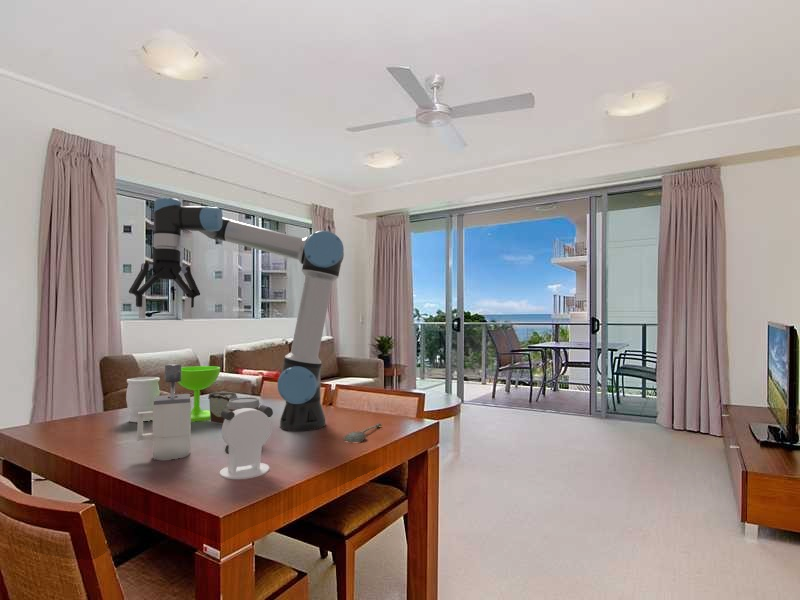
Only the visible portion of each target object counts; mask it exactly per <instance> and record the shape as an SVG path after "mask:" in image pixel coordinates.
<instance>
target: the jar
mask: <svg viewBox="0 0 800 600" xmlns="http://www.w3.org/2000/svg"><path fill="white" fill-rule="evenodd" d="M160 380H161V378H160V377H159V376H139V377H131V378H127V379H126V383H127V388H126V393H125V395H126V396H125V399H126V405H127V406H126V408H127V411H128V414H129V416H130V417H129V419H128V421H129V422H131V423H138V412H147V411H153V402H154V399H155V396H161V395H160V394H161V393H160V392H161V391H160V386H159V381H160ZM150 420H152V421H153V417H147V418H143V421H148V422H151V421H150Z"/></svg>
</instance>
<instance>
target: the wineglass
mask: <svg viewBox="0 0 800 600" xmlns="http://www.w3.org/2000/svg"><path fill="white" fill-rule="evenodd" d="M220 371H221V367H220V366H210V365H207V366H206V365H199V366H181V381H179V382H177V383H178V384H179V385H180V386H181V387H183V388H184V389H187V390H190V391H193V408H192V409H191V423H196V422H195V421H199V422H206V420H207V421H210V409H209V410H208V409H207V410H202V408H201V407H200V403H201V402H200V397H201V396H200V393H201V392H200V391H201V390H204V389H207V388H209V387H210V386H212V385H213V384H214V383H215V382H216V380H217V379H218V377H219V375H220Z"/></svg>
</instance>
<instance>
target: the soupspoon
mask: <svg viewBox="0 0 800 600" xmlns="http://www.w3.org/2000/svg"><path fill="white" fill-rule="evenodd" d="M382 425H383V424H382V423H377V424H375V425H373V426H370V427H368V428H365V429H363V430H362V431H351V432H348V433H347V434H346V435H345V436H344V437H343V439H342V440H344V441H348V442H360V443H362V442H363V441H364V440H365V438H366V436H367V435H366V432H367V431H370V430H372V429H374V428H375V427H376V428H378V427H379V426H382ZM379 428H380V427H379ZM344 441H343V442H344ZM361 441H362V442H361Z"/></svg>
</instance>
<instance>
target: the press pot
mask: <svg viewBox="0 0 800 600" xmlns="http://www.w3.org/2000/svg"><path fill="white" fill-rule="evenodd" d="M191 411H192V398H191V394H190V393H181V394H180V393H179V394H175V398H171V394H165V395H164V394H162V395H160V396H155V399H154V402H153V411H147V412H138V422H137V425H136V426H137V429H136V430H137V436H136V438H137V439H136V440H137V441H138V442H139V441H148V440H152V457H153V458H154V459H153V458H152V459H153V460H155V459H157V460H156V461H172V460H171V459H175V460H179V459H178V458H180V459H183V458H186V457H188V456H189V455H191V434H192V433H191V432H192V431H191V430H192V429H191V428H192V427H191V426H192V424H191V423H192V422H191ZM147 417H153V420H152V432H148V433H144V422H143V418H147Z"/></svg>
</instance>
